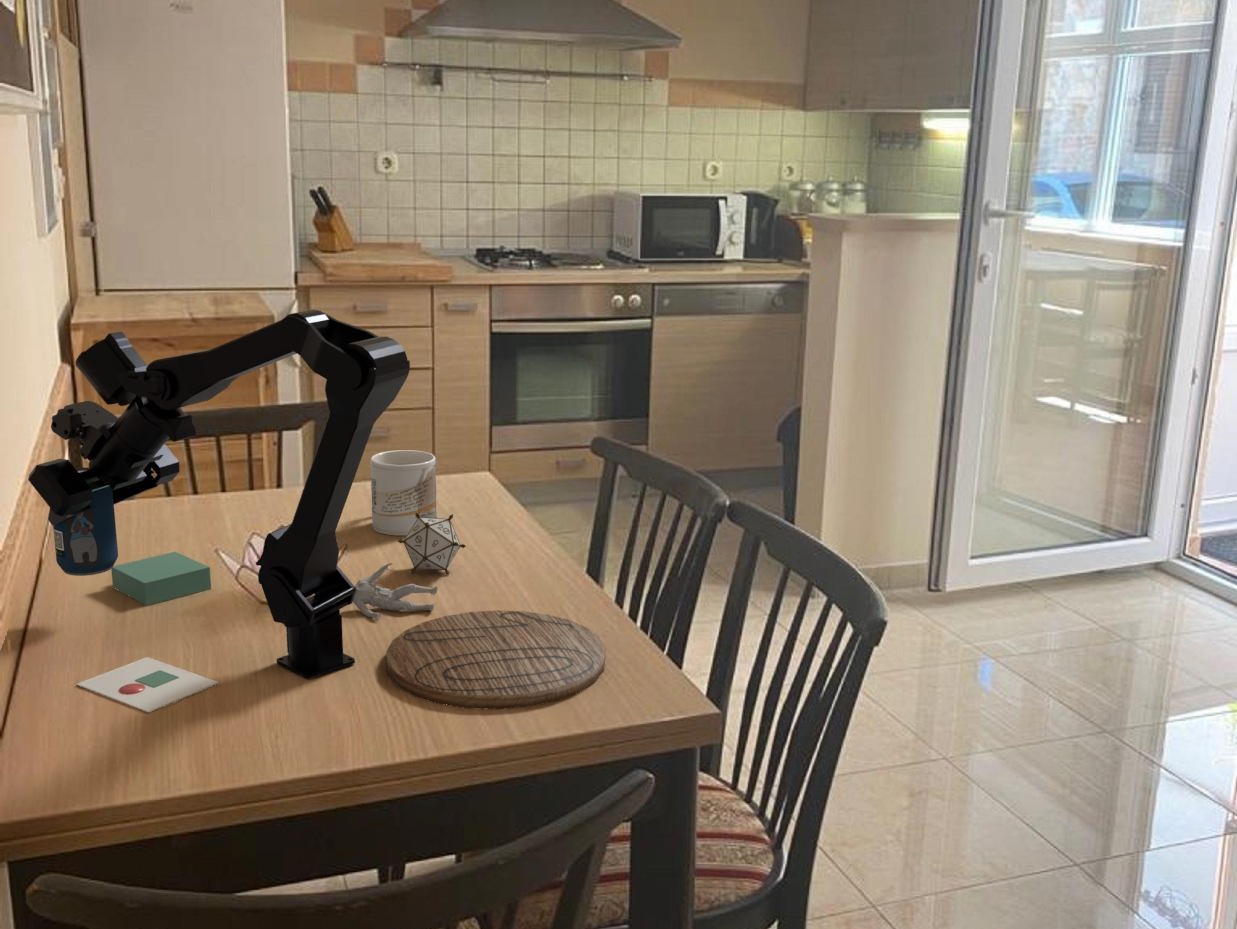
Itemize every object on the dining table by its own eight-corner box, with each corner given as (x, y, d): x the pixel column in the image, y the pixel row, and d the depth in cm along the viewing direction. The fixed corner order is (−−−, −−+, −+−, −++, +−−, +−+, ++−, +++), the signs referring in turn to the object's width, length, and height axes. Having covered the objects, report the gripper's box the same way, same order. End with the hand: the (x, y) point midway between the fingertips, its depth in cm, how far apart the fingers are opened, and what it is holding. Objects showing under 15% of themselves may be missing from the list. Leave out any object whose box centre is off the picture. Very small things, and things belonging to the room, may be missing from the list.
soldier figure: (430, 629, 156) (335, 604, 153) (421, 642, 160) (328, 619, 157) (442, 573, 160) (349, 548, 157) (433, 588, 164) (343, 564, 161)
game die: (444, 592, 177) (484, 534, 177) (429, 591, 168) (472, 530, 169) (393, 556, 178) (434, 498, 178) (377, 553, 169) (419, 492, 170)
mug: (356, 531, 191) (354, 461, 188) (392, 510, 202) (391, 444, 199) (419, 539, 188) (418, 467, 185) (452, 517, 199) (451, 450, 197)
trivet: (369, 637, 151) (368, 623, 151) (566, 615, 160) (566, 601, 159) (411, 726, 128) (410, 709, 128) (637, 694, 137) (638, 678, 137)
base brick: (211, 588, 165) (209, 567, 165) (146, 605, 159) (144, 583, 158) (172, 570, 172) (170, 549, 171) (108, 585, 166) (106, 564, 165)
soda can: (100, 555, 157) (92, 463, 155) (130, 567, 153) (122, 472, 150) (46, 569, 152) (37, 473, 149) (75, 581, 148) (66, 483, 145)
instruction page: (218, 683, 137) (218, 681, 136) (148, 713, 129) (148, 710, 129) (147, 658, 143) (147, 656, 143) (76, 685, 135) (76, 682, 135)
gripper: (154, 369, 154) (92, 448, 161) (32, 395, 137) (-31, 482, 144) (209, 438, 153) (145, 514, 160) (93, 472, 136) (27, 556, 143)
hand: (74, 514), depth 152 cm, fingers closed on soda can, 7 cm apart
